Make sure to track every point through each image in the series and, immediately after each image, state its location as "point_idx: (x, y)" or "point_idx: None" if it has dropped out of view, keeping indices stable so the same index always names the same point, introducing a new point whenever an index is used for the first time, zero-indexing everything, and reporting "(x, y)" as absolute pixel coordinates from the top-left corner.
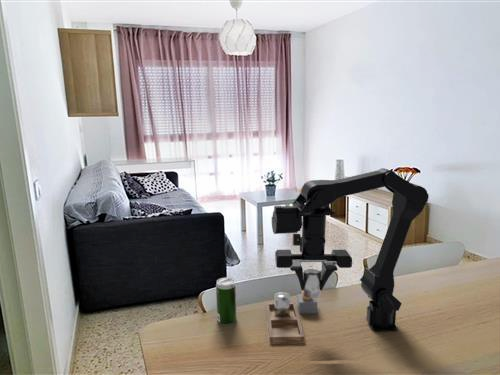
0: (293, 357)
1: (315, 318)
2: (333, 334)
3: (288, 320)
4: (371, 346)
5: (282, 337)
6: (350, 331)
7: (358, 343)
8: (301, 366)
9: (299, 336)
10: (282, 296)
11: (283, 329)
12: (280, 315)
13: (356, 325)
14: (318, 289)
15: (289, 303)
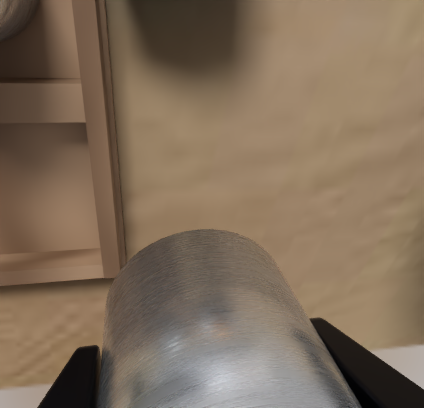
0: (72, 328)
1: (219, 16)
2: (272, 181)
3: (27, 122)
4: (384, 253)
5: (5, 282)
6: (357, 157)
7: (348, 239)
8: None
9: (96, 277)
10: None
11: (7, 162)
12: None
13: (408, 107)
14: None
15: (2, 7)
